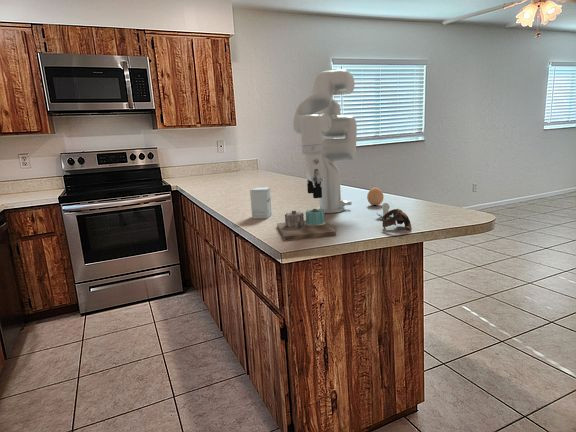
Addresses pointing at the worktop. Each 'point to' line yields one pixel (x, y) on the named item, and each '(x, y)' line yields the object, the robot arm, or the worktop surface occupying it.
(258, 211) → the supplement box
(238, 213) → the worktop surface
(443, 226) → the worktop surface
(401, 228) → the worktop surface
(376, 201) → the egg
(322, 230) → the gear board
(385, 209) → the pacifier
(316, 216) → the teal gear
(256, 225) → the worktop surface
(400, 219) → the brown arched figurine
